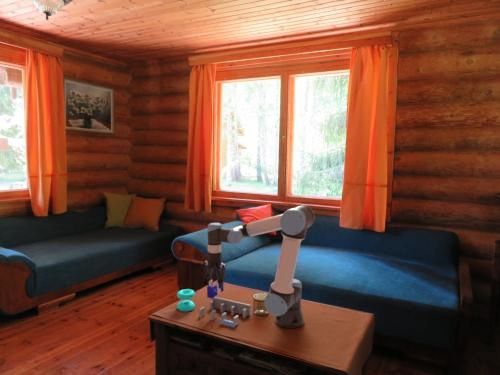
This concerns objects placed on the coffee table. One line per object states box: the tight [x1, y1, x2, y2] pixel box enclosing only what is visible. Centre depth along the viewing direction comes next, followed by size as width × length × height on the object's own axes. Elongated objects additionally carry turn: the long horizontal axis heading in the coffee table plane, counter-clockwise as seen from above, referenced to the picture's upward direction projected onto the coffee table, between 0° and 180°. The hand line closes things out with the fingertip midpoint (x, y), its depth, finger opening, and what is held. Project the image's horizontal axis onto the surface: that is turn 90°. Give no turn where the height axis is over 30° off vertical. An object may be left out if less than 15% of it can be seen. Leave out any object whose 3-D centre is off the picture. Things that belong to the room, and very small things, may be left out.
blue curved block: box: [206, 279, 224, 299], centre depth 200 cm, size 12×4×6 cm, turn 154°
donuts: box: [176, 288, 196, 312], centre depth 208 cm, size 10×10×10 cm
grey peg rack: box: [198, 296, 252, 328], centre depth 199 cm, size 25×16×6 cm, turn 64°
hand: (214, 292), depth 201 cm, fingers closed on blue curved block, 4 cm apart
